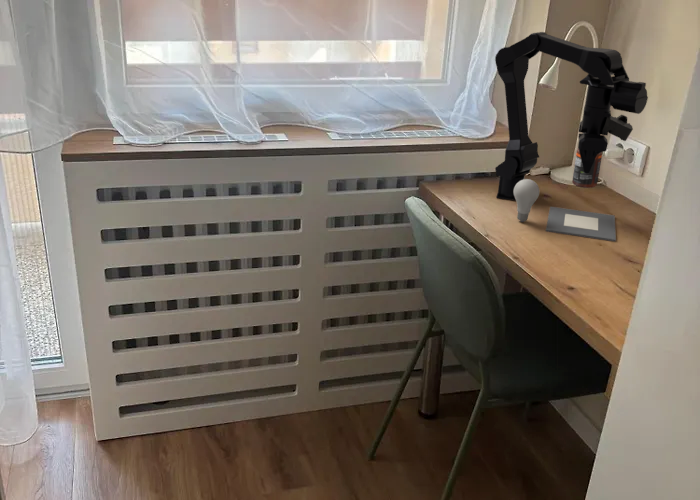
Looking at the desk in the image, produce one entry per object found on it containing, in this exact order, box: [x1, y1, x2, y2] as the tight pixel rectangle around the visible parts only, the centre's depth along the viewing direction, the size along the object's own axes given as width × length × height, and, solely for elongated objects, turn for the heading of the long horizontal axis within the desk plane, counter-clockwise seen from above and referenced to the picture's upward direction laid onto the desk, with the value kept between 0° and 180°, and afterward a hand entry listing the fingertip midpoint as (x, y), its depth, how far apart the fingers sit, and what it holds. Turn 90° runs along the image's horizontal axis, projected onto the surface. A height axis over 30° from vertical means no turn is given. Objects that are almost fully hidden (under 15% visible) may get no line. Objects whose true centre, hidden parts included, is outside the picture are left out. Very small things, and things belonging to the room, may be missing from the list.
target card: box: [545, 206, 617, 243], centre depth 171 cm, size 16×16×1 cm
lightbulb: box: [514, 178, 540, 223], centre depth 169 cm, size 6×6×11 cm
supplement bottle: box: [571, 148, 603, 189], centre depth 168 cm, size 6×6×11 cm
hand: (586, 169), depth 168 cm, fingers closed on supplement bottle, 6 cm apart
